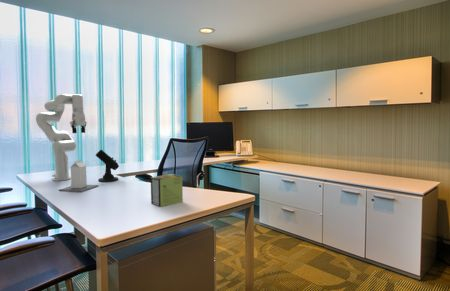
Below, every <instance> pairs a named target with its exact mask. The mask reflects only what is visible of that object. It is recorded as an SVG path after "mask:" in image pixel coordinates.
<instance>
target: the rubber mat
mask: <svg viewBox="0 0 450 291" xmlns="http://www.w3.org/2000/svg"><path fill="white" fill-rule="evenodd" d="M99 186H100V185H98V184H87V186H86V187H83V188H71V185H70V186H67V187H63V188H60V189H58V191H59V192H72V193H73V192H74V193H84V192H87V191H89V190H92V189H95V188H97V187H99Z"/></svg>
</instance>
